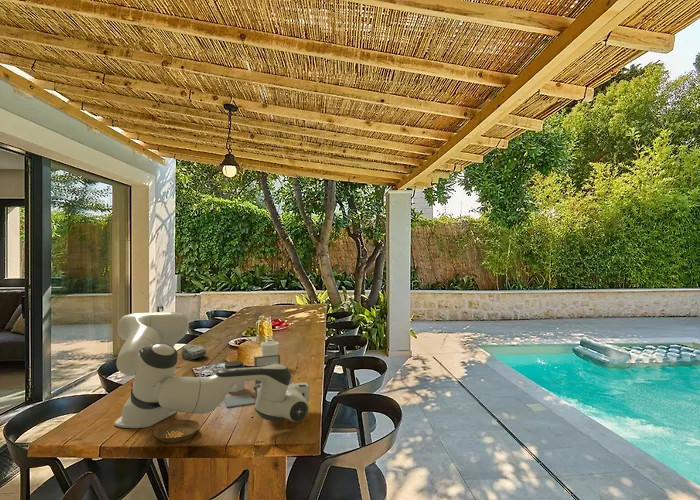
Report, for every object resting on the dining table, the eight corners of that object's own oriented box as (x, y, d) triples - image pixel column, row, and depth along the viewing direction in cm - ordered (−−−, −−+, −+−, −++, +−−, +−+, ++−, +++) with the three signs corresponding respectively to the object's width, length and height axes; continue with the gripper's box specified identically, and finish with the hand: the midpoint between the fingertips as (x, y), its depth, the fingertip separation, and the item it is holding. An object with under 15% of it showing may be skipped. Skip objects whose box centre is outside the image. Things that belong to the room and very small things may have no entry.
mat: (254, 404, 171) (254, 402, 171) (227, 407, 167) (227, 406, 167) (250, 395, 181) (250, 394, 181) (223, 398, 177) (224, 397, 177)
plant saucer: (198, 442, 137) (198, 434, 137) (149, 448, 133) (149, 440, 133) (201, 424, 151) (201, 417, 151) (157, 429, 147) (157, 422, 147)
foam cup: (266, 370, 218) (266, 346, 218) (257, 366, 225) (257, 343, 225) (281, 367, 225) (281, 343, 225) (272, 363, 232) (273, 340, 232)
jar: (246, 386, 193) (246, 360, 193) (241, 392, 185) (241, 365, 185) (226, 386, 193) (227, 360, 193) (221, 392, 185) (221, 365, 185)
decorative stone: (206, 354, 238) (199, 338, 239) (182, 365, 234) (176, 348, 235) (209, 353, 252) (203, 337, 253) (186, 362, 248) (180, 347, 249)
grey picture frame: (279, 354, 193) (279, 354, 194) (254, 357, 188) (254, 357, 189) (281, 380, 190) (281, 380, 191) (255, 384, 185) (255, 384, 186)
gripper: (260, 409, 153) (253, 396, 165) (312, 401, 161) (302, 390, 173) (260, 391, 153) (253, 380, 165) (313, 385, 161) (302, 375, 173)
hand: (279, 385), depth 169 cm, fingers open, 8 cm apart
